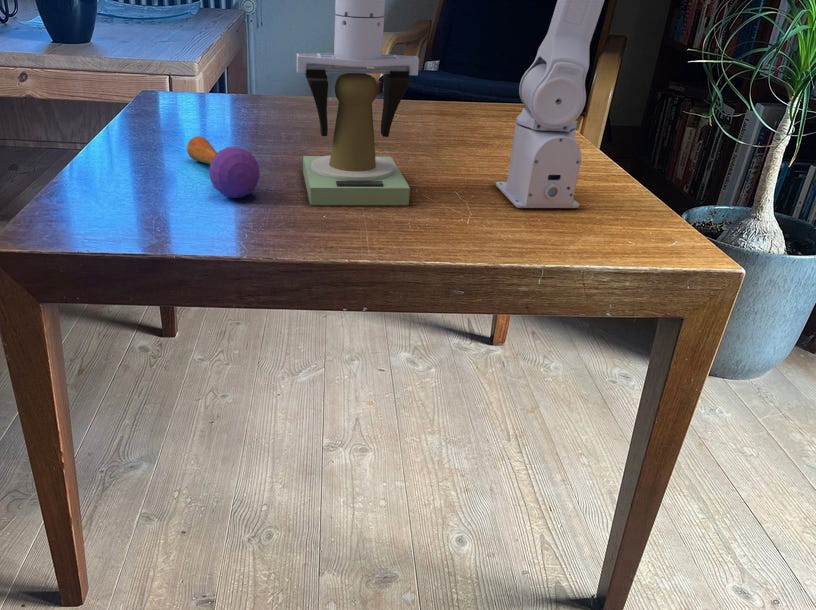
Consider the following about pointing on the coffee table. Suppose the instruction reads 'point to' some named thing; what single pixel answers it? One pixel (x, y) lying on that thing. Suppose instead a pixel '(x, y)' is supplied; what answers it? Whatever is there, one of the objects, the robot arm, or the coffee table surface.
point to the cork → (354, 123)
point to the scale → (354, 183)
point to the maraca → (227, 167)
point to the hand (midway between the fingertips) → (354, 134)
